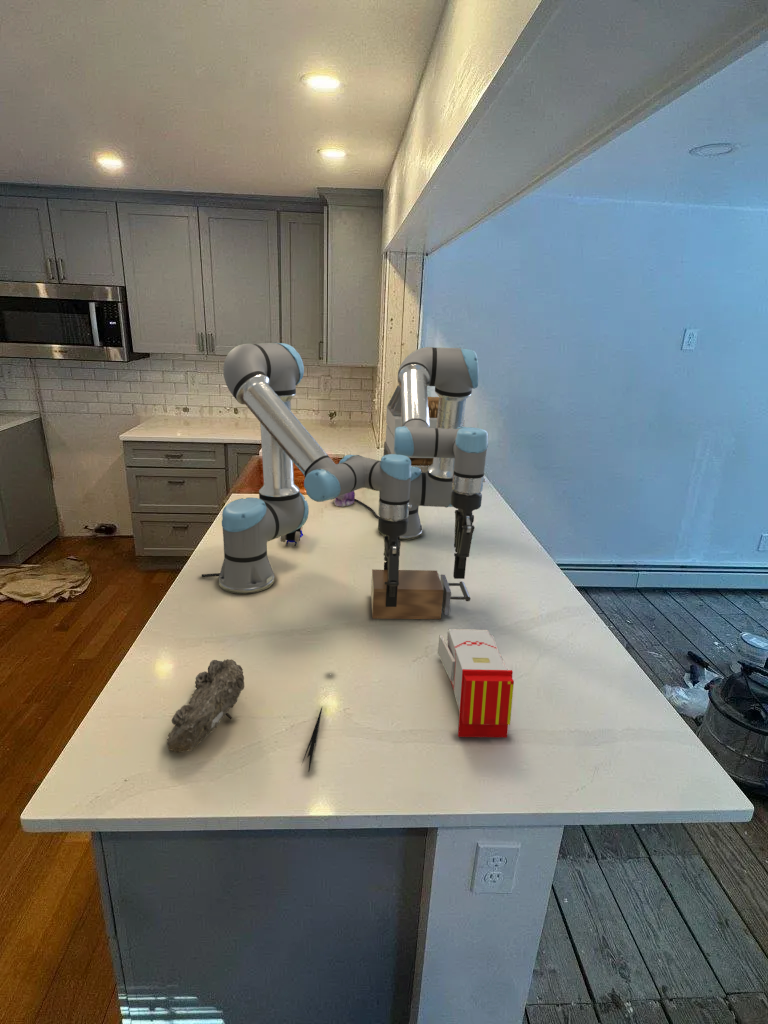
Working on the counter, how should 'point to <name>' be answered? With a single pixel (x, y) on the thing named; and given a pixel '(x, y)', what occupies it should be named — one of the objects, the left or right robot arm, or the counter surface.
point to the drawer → (447, 593)
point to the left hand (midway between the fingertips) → (389, 594)
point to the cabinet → (408, 595)
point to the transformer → (395, 421)
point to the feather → (313, 740)
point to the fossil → (206, 705)
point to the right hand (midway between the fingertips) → (458, 577)
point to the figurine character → (292, 537)
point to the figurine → (345, 499)
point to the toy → (478, 682)
